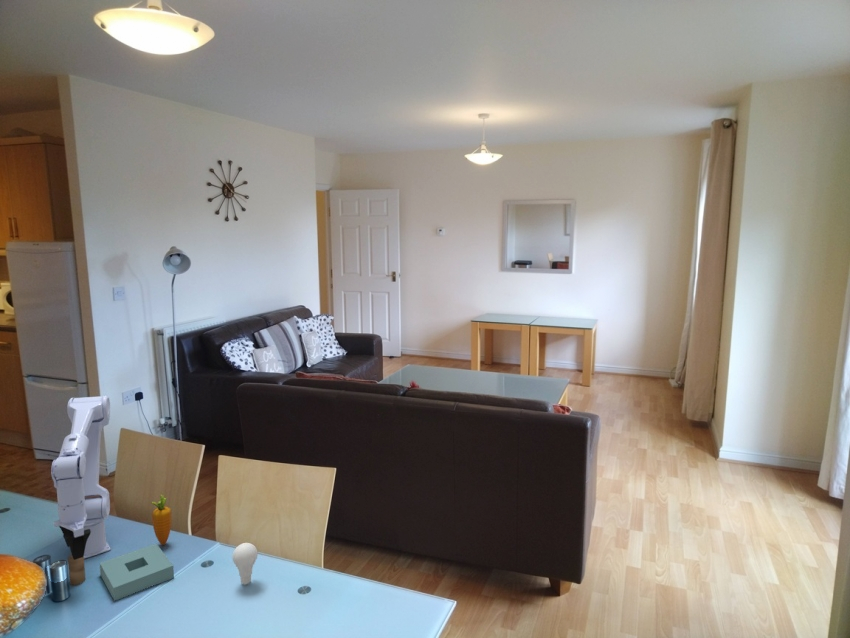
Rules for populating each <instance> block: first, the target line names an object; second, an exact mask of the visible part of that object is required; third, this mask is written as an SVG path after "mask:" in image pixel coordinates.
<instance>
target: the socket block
mask: <svg viewBox="0 0 850 638" xmlns="http://www.w3.org/2000/svg"><path fill="white" fill-rule="evenodd" d="M99 570H100V571H99V572H100V573H99V575H100V577H101V578H102V580H103V582H104V584H105V586H106V588H107V590H108V592H109V593H111V594H110V595H111V597H112V599H113V601H114V602H115V600H116V601H118V600H121V599H124V598H126V597H128V595H129V596H132V595H133V593H134V594H136V593H139V592H141V591H144V590H146V589H145V588H147V587H149V588H151V587H150V586H152V585H154V586H156V585H155V584H157V585H159V584H161V583H164V581H165V582H167V581H169V580H172V579H175V577H174V576H175V573H174V571H175V569H174V565H173V563H172V562H171V561H170V559H169V558H168V557H167V555H166V554H165V552H164V551H163V550H162V549H161V548H160V546H159V545H158V544H157V543H155V544H151V545H148V546H145V547H142V548H139V549H136V550H133V551H131V552H127V553H125V554H122V555H118V556H117V557H116V556H115V557H113V558H110V559H107V560H105V561H102V562H99ZM152 587H153V586H152ZM143 589H144V590H143ZM147 589H148V588H147ZM140 590H141V591H140ZM138 591H139V592H138ZM135 592H136V593H135ZM123 597H124V598H123Z"/></svg>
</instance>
